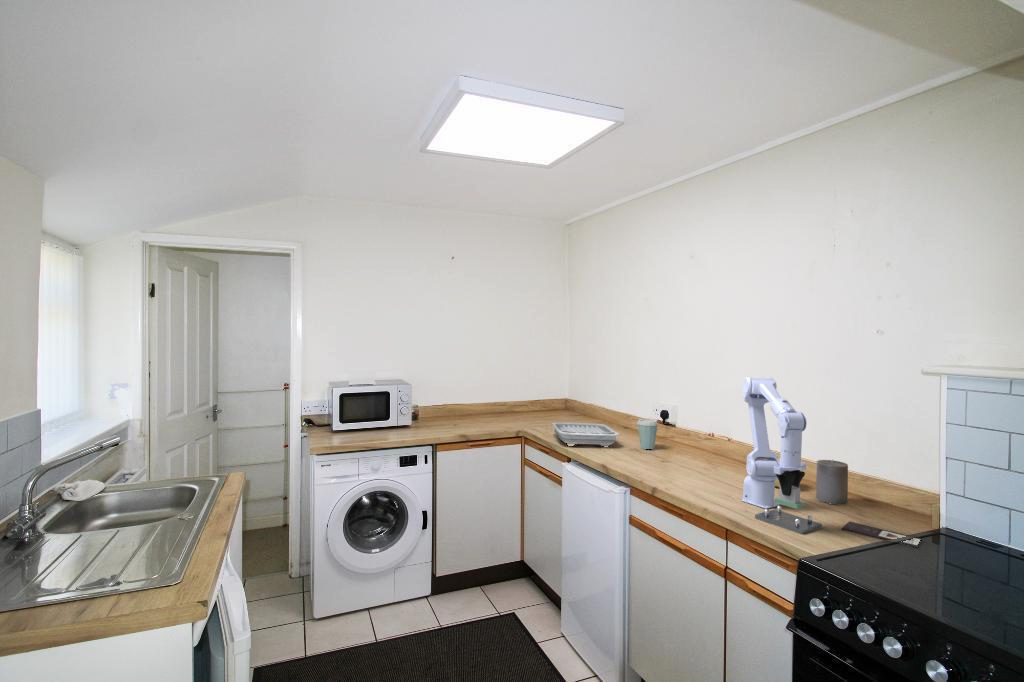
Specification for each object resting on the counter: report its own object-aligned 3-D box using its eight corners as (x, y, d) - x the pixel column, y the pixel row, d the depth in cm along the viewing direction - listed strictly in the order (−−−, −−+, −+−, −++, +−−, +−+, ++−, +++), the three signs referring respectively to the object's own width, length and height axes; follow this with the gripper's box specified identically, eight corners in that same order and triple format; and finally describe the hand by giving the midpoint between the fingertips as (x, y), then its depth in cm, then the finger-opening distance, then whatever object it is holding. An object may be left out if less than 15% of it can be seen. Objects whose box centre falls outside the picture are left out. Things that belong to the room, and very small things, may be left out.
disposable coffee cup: (654, 452, 259) (655, 422, 258) (633, 449, 264) (634, 419, 264) (659, 448, 268) (660, 419, 268) (639, 445, 273) (640, 417, 273)
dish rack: (604, 436, 299) (605, 422, 299) (621, 450, 262) (622, 434, 262) (549, 435, 297) (550, 421, 297) (559, 449, 261) (559, 433, 261)
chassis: (755, 518, 166) (755, 508, 166) (775, 512, 172) (775, 503, 172) (801, 534, 154) (802, 523, 154) (822, 527, 159) (822, 517, 159)
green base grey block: (774, 502, 165) (774, 484, 165) (782, 500, 167) (782, 482, 167) (797, 508, 159) (797, 490, 158) (804, 506, 161) (805, 488, 161)
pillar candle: (842, 498, 191) (843, 457, 191) (851, 506, 181) (852, 463, 181) (812, 495, 193) (813, 455, 193) (819, 503, 184) (820, 461, 184)
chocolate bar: (849, 521, 165) (921, 538, 152) (849, 524, 165) (921, 541, 152) (841, 527, 158) (916, 546, 146) (841, 531, 158) (916, 549, 146)
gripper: (790, 455, 155) (788, 501, 156) (816, 451, 163) (815, 494, 163) (767, 451, 161) (766, 494, 162) (794, 447, 169) (792, 488, 169)
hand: (789, 494), depth 163 cm, fingers closed on green base grey block, 3 cm apart
